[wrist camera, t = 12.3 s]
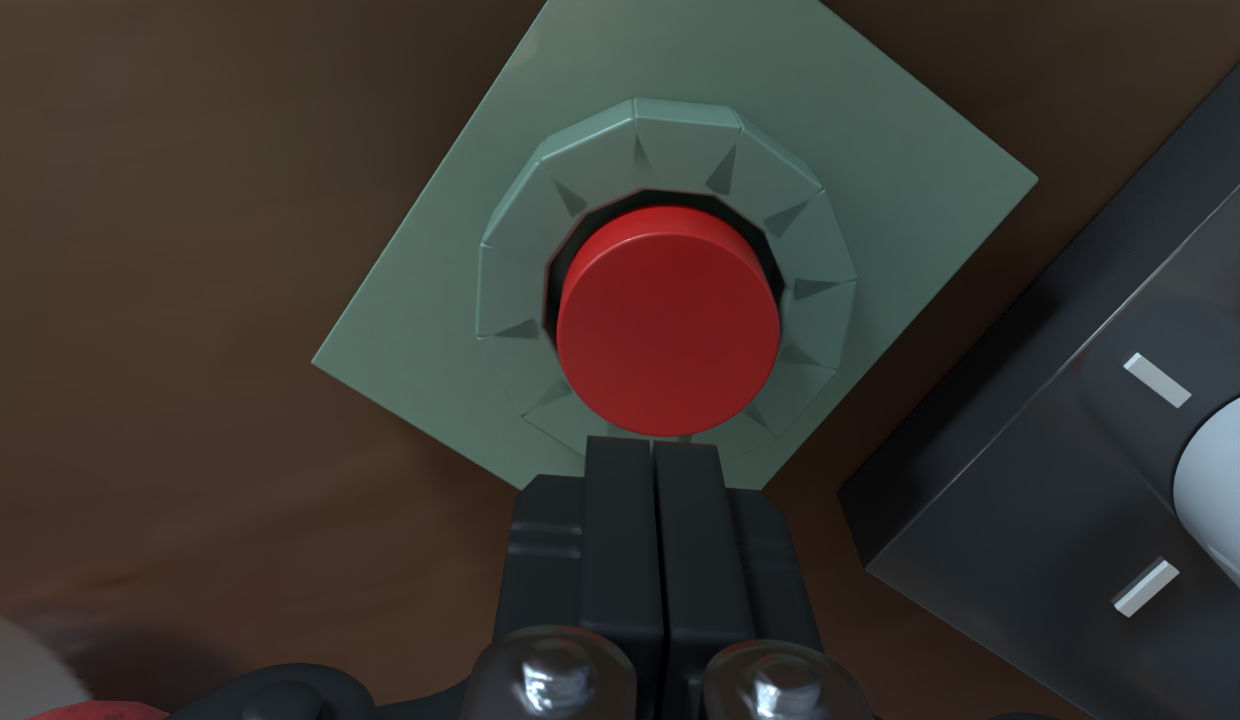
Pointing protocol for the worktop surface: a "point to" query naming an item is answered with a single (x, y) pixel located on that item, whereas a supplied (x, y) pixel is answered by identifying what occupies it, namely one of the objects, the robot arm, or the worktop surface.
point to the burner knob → (1213, 489)
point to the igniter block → (671, 173)
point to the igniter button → (666, 321)
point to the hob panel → (1086, 453)
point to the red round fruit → (103, 711)
